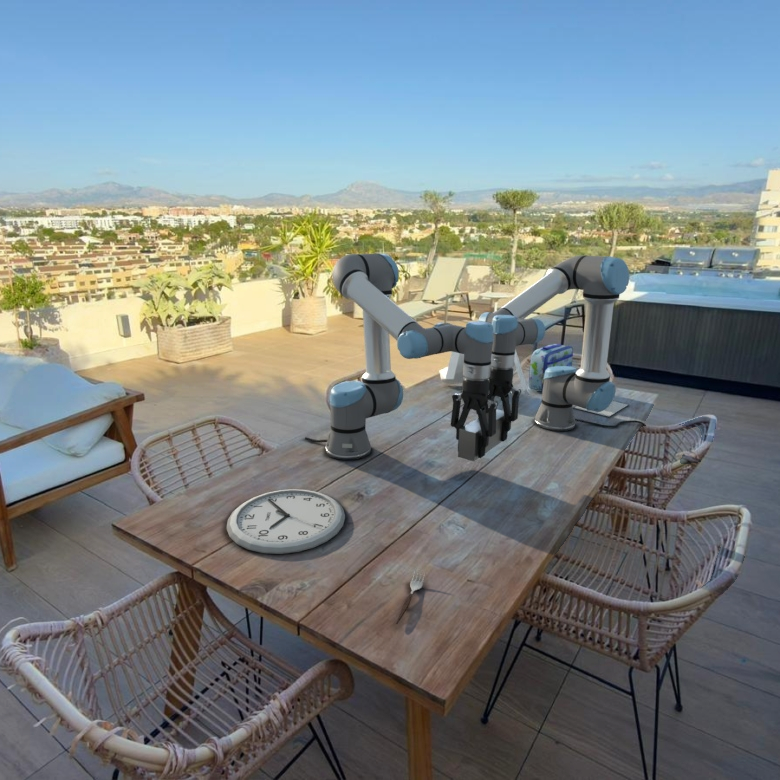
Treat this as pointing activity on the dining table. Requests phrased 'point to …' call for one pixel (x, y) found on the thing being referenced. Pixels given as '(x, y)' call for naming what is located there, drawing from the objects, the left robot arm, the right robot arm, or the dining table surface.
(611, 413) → the invitation card
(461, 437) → the bar
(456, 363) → the white plastic object
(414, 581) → the fork
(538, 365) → the lunch box
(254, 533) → the wall clock
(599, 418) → the dining table surface
